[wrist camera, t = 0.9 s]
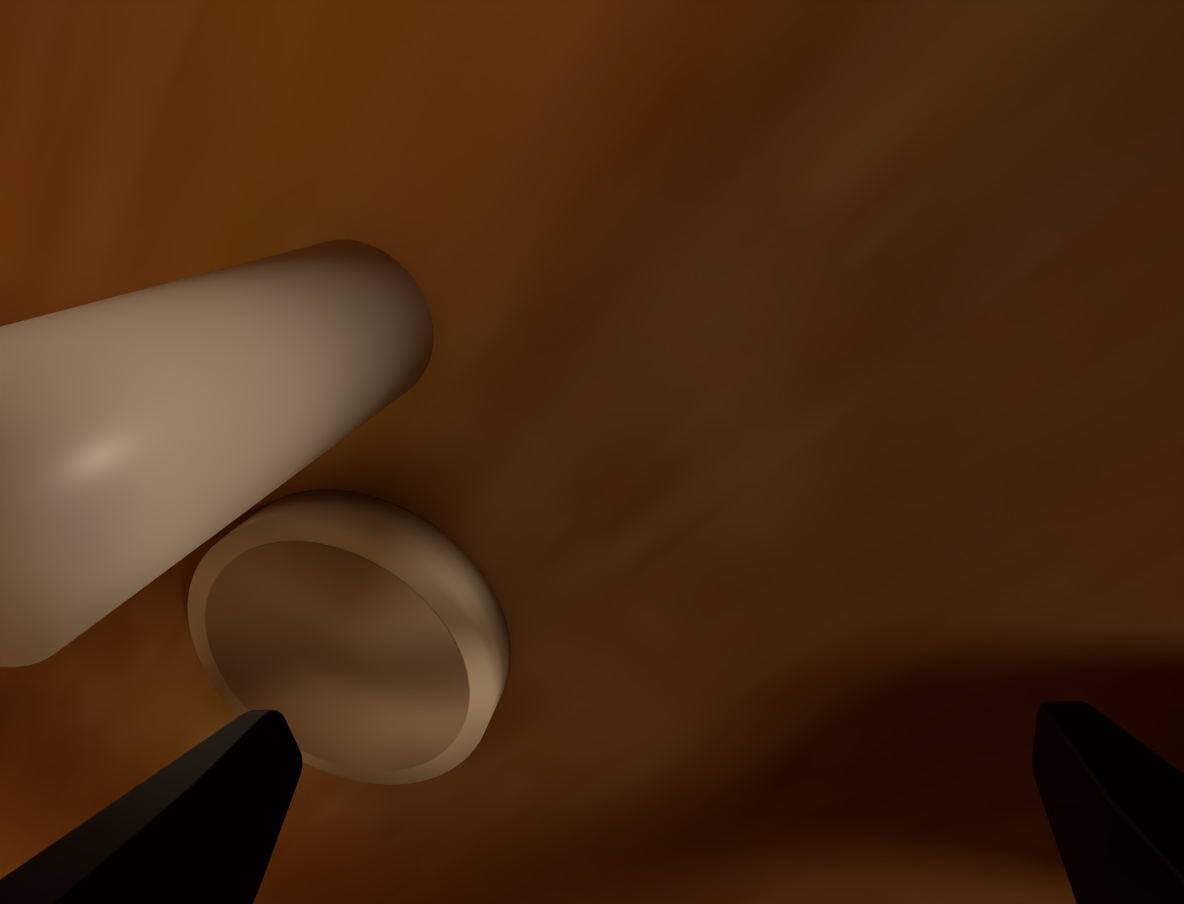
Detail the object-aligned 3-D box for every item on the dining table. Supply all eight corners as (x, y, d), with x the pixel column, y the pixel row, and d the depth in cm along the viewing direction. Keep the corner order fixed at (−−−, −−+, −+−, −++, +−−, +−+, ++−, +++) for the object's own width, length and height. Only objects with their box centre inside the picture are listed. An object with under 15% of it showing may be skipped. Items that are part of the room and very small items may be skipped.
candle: (463, 363, 22) (84, 664, 10) (342, 424, 24) (-105, 739, 12) (373, 208, 21) (-208, 328, 8) (251, 285, 23) (-368, 477, 10)
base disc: (566, 706, 27) (550, 753, 25) (339, 764, 32) (309, 808, 30) (399, 442, 24) (365, 471, 22) (171, 548, 28) (125, 581, 26)
